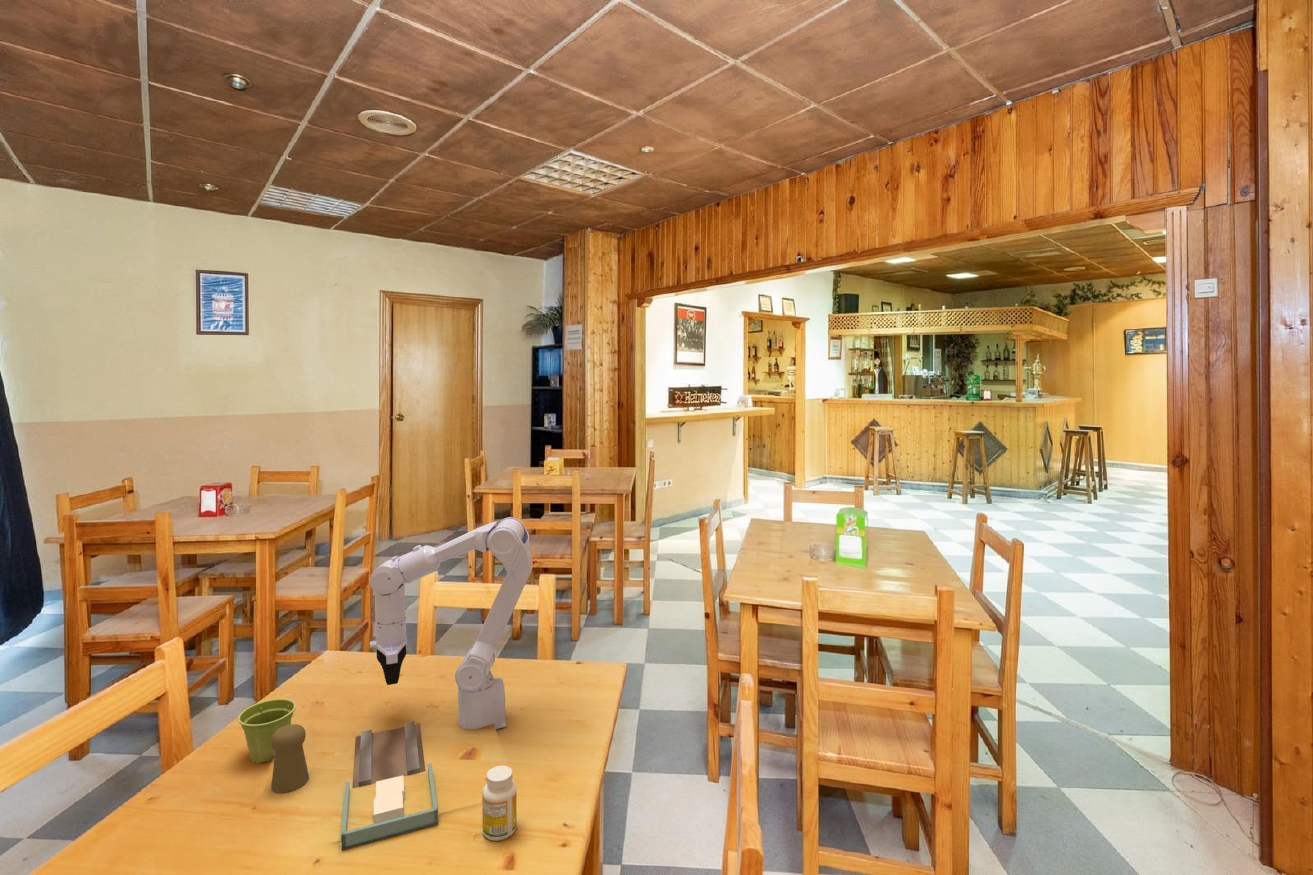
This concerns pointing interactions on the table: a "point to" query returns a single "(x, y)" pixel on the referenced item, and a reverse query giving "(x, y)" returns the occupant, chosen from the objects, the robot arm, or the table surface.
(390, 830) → the tray
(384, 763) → the slot board
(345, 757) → the table surface
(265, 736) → the plant pot
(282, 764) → the cork
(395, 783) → the chip
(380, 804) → the chip
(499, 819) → the supplement bottle
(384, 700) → the table surface
